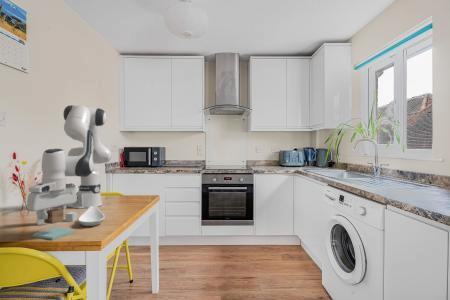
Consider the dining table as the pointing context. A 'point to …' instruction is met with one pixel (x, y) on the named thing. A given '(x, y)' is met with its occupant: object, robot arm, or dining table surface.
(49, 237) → the teal mat
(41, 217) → the beer glass
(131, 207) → the dining table surface
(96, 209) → the spoon rest
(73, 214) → the grey cube
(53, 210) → the walnut block
